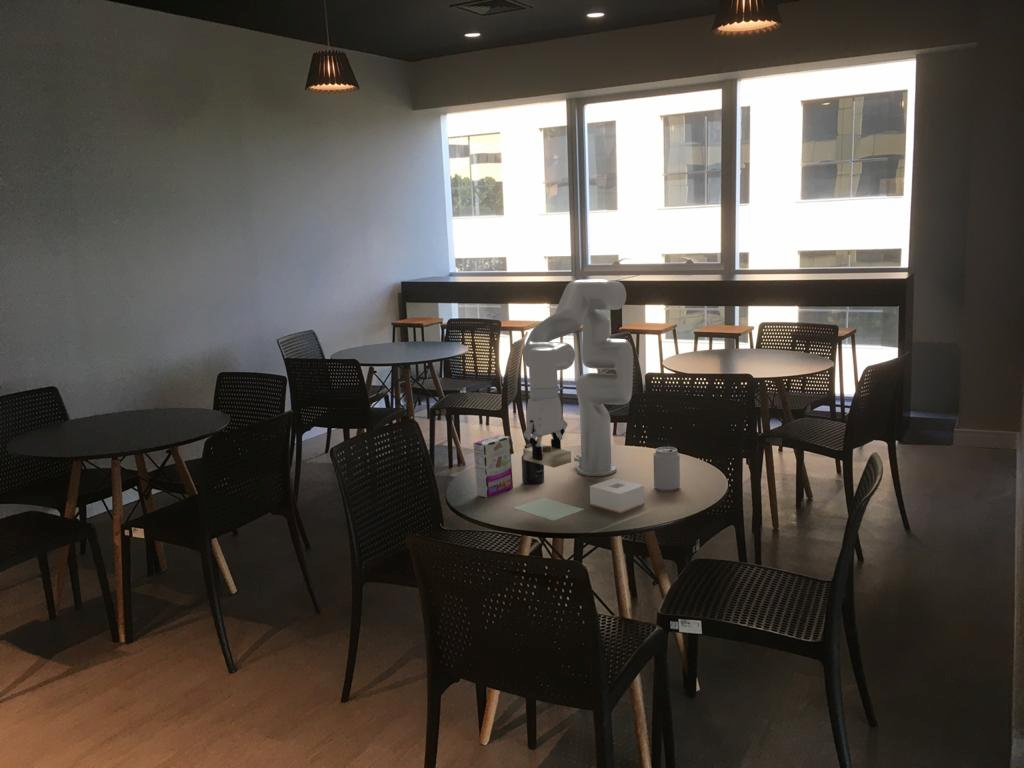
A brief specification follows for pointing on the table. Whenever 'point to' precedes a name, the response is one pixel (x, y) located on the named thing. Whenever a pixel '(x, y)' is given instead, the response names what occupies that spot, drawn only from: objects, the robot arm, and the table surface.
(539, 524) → the table surface
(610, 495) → the gray block
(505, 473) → the candy bar box
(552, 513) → the mat
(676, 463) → the can
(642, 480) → the table surface
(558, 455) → the lid
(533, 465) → the supplement bottle
